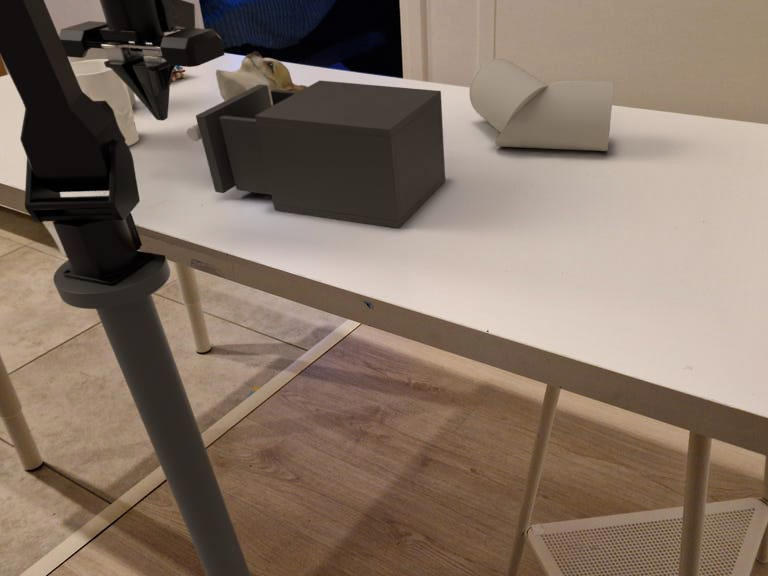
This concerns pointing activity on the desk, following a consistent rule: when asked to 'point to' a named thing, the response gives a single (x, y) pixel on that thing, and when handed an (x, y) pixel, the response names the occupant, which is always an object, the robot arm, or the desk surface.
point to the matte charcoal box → (354, 151)
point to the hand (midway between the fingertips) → (162, 119)
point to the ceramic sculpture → (256, 77)
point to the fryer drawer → (236, 140)
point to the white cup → (107, 93)
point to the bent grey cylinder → (542, 108)
